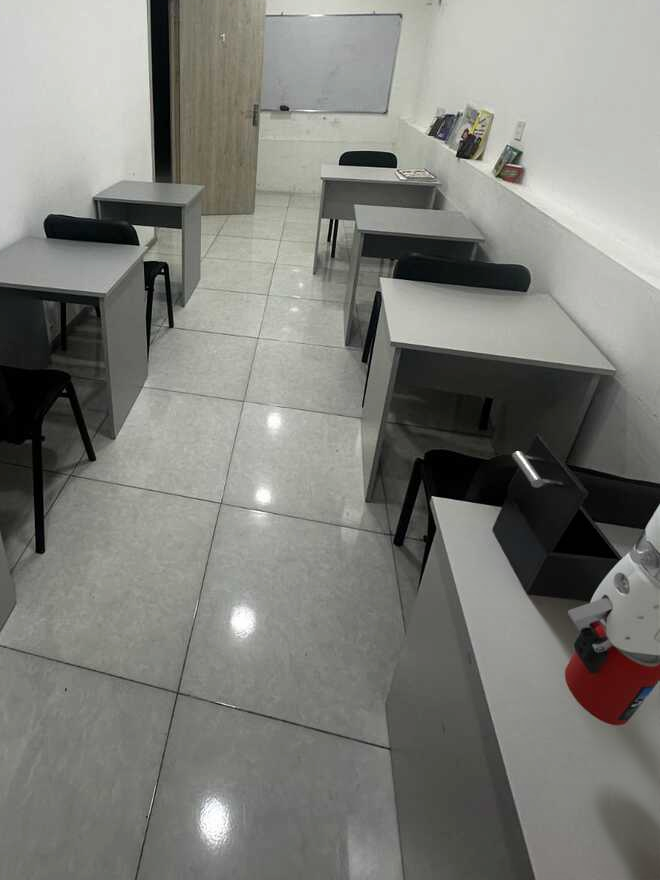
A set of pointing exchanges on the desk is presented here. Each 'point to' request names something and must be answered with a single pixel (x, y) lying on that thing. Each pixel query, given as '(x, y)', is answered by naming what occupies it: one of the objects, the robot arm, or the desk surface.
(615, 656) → the beverage can
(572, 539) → the box
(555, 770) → the desk surface
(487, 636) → the desk surface
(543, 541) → the lid
